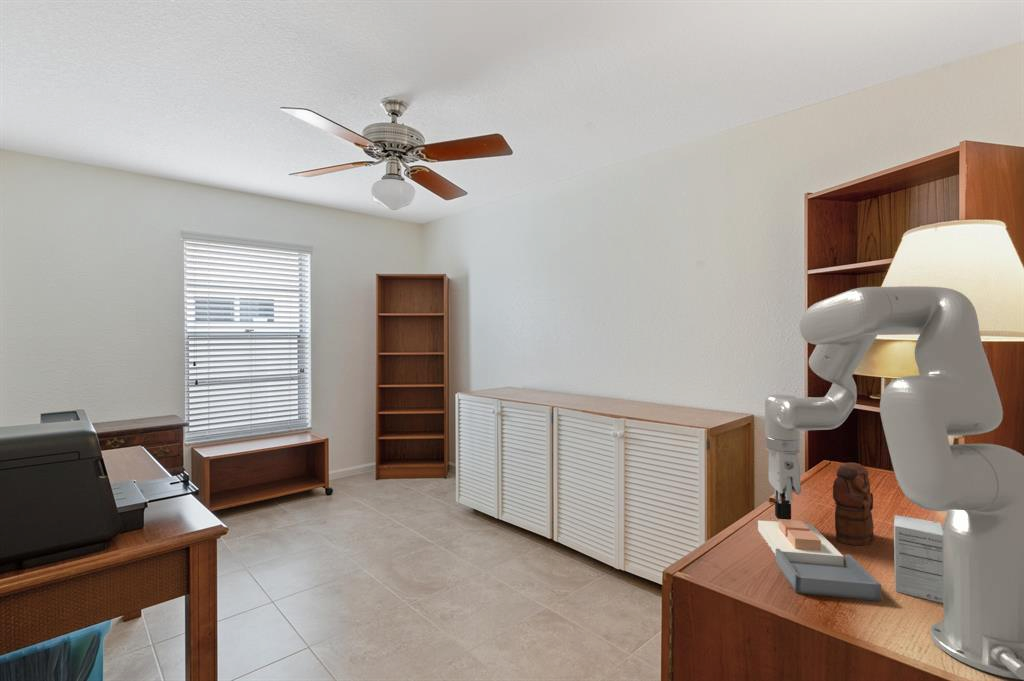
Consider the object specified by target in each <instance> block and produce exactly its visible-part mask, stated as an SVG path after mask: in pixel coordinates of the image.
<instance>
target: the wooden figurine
mask: <svg viewBox="0 0 1024 681" xmlns="http://www.w3.org/2000/svg"><path fill="white" fill-rule="evenodd" d="M832 499H833V501H834V502H835V503H834V504H835V505H836V506H835V509H834V528H835V539H836V541H837V542H839V543H841V544H845V545H846V544H847V545H852V546H867V545H869V544H870V542H871V541H873V536H874V535H875V533H874V528H875V526H874V519H873V514H872V510H873V509H874V495H873V493H872V492H871V484H870V478H869V471H868V469H867V467H865V466H864V465H862V464H860V463H856V462H845V463H843V464H841V465H840V466H839V467H838V469H837V470H836V478H835V479H834V481H833V484H832Z"/></svg>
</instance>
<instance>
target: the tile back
mask: <svg viewBox="0 0 1024 681" xmlns="http://www.w3.org/2000/svg"><path fill="white" fill-rule="evenodd" d="M778 522H779V529H780V530H781V532H782V533H783V534H784V535H785V537H788V530H800V531H810V529H809V528H808V527H807V526H806V524H807V523H805V522H804V521H803V520H797V519H796V520H795V519H790V520H787V519H778Z"/></svg>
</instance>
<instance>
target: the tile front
mask: <svg viewBox="0 0 1024 681" xmlns="http://www.w3.org/2000/svg"><path fill="white" fill-rule="evenodd" d="M788 540H789V542H790V543H791V544H792V545H793V547H794V548H795V549H806V550H818V551H821V540H820V539H819V538H818V537H817V536H816V535H815V534H814V533H813V532H812V531H800V530H788Z"/></svg>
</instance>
